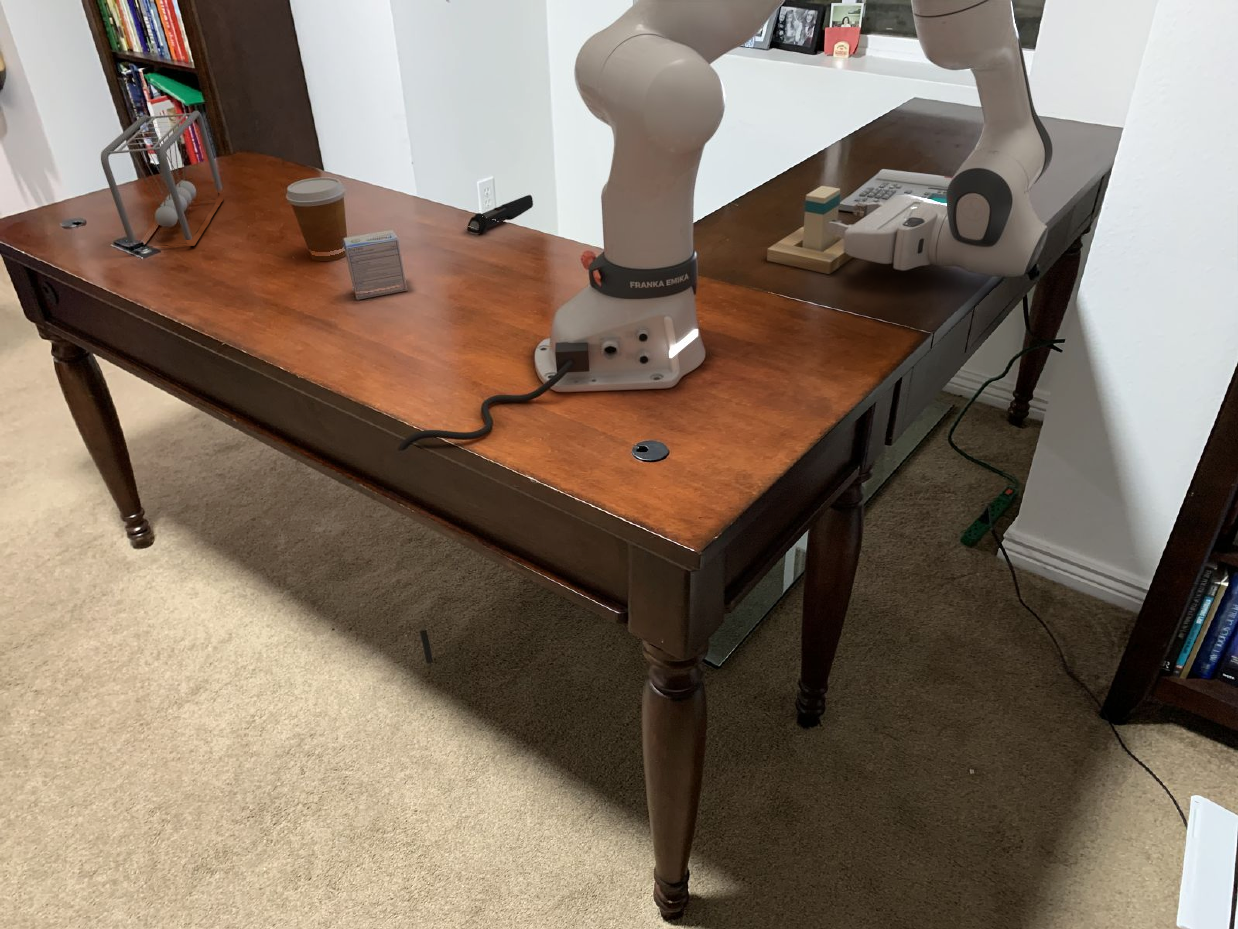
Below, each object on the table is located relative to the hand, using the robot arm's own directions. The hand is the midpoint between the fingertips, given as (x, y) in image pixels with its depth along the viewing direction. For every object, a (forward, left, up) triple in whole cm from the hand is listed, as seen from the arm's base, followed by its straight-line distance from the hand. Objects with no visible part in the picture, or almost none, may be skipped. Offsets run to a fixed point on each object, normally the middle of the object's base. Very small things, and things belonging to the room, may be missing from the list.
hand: (842, 217), depth 144 cm
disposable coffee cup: (-81, +27, -7) cm, 86 cm away
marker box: (-2, +3, -7) cm, 8 cm away
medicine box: (-72, +8, -7) cm, 73 cm away
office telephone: (+24, +23, -7) cm, 33 cm away
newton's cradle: (-110, +51, -7) cm, 122 cm away
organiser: (-2, +3, -7) cm, 8 cm away
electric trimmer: (-51, +34, -7) cm, 62 cm away
